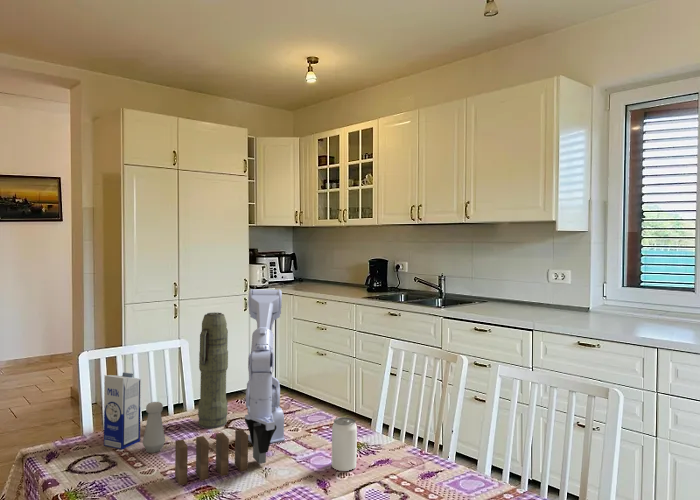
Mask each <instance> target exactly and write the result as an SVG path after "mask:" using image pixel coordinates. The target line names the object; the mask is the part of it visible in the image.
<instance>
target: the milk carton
mask: <svg viewBox="0 0 700 500" xmlns="http://www.w3.org/2000/svg"><path fill="white" fill-rule="evenodd" d="M133 376H134V373H132V372H122V375H115V374H114V375H112V374H108V375H107V374H106V375H104V382H103V383H104V388H103V389H104V391H103V393H104V395H103V396H104V397H103V399H104V400H103V402H104V403H103V446H104V447H109V448H114V449H118V450H124V449H126V448H128V447H131V446H133V445H135V444H137V443H139V442H141V411H142V410H141V408H142V407H141V405H142V404H141V403H142V401H141V398H142V397H141V396H142V386H141V385H142V378H138V377H133Z"/></svg>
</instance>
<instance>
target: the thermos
mask: <svg viewBox="0 0 700 500" xmlns="http://www.w3.org/2000/svg"><path fill="white" fill-rule="evenodd" d="M227 326H228V324H227V320H226V317H225V314H224V313H222V312H207V313H205V314H204V316H203V318H202V321H201V332H200V334H199V351H198V352H199V354H198V355H199V357H198V359H199V360H198V365H199V366H198V369H199V371H200V384H199V385H200V387H199V389H200V392H199V393H200V395H199V396H200V398H199V400H198V402H197V403H198V404H197V405H198V406H197V407H198V408H197V410H198V411H197V413H198V414H197V416H198V426H199V427H200V428H203V429H218V428H221V427H224V426H225V425H227V424H228V420H227V419H228V418H227V417H228V405H229V404H228V400H227V370H228V368H229V350H228V343H229V342H228V339H229V338H228V337H229V336H228V331H229V330H228V328H227Z"/></svg>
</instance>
